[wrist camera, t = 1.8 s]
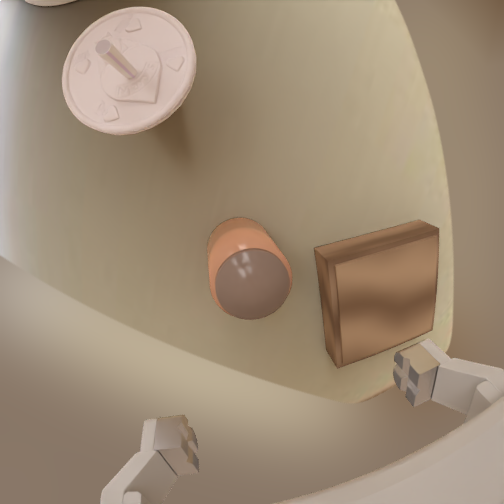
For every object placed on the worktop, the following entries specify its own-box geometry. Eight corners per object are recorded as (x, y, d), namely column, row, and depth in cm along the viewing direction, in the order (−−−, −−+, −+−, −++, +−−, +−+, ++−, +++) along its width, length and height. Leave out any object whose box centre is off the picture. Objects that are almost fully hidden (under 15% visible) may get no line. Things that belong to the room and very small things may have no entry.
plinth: (314, 247, 26) (328, 262, 23) (419, 219, 27) (441, 229, 24) (326, 350, 30) (338, 370, 27) (417, 316, 31) (434, 331, 28)
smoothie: (146, 156, 22) (73, 174, 8) (97, 94, 19) (-11, 52, 6) (216, 101, 21) (237, 42, 8) (165, 40, 19) (129, -66, 6)
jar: (200, 226, 24) (200, 258, 17) (263, 210, 24) (287, 236, 18) (215, 284, 26) (222, 332, 19) (275, 269, 26) (300, 311, 20)
